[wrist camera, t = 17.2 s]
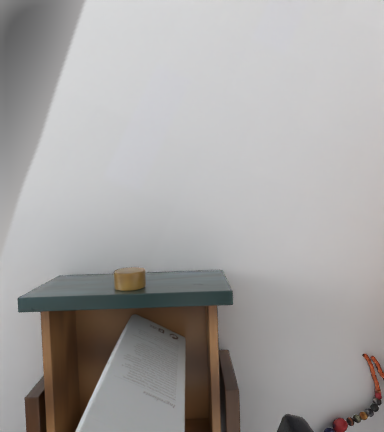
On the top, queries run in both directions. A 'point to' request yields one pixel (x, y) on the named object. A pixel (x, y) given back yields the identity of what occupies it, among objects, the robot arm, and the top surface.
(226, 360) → the drawer rack
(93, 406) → the cosmetic box
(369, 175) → the top surface
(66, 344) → the drawer
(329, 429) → the necklace
